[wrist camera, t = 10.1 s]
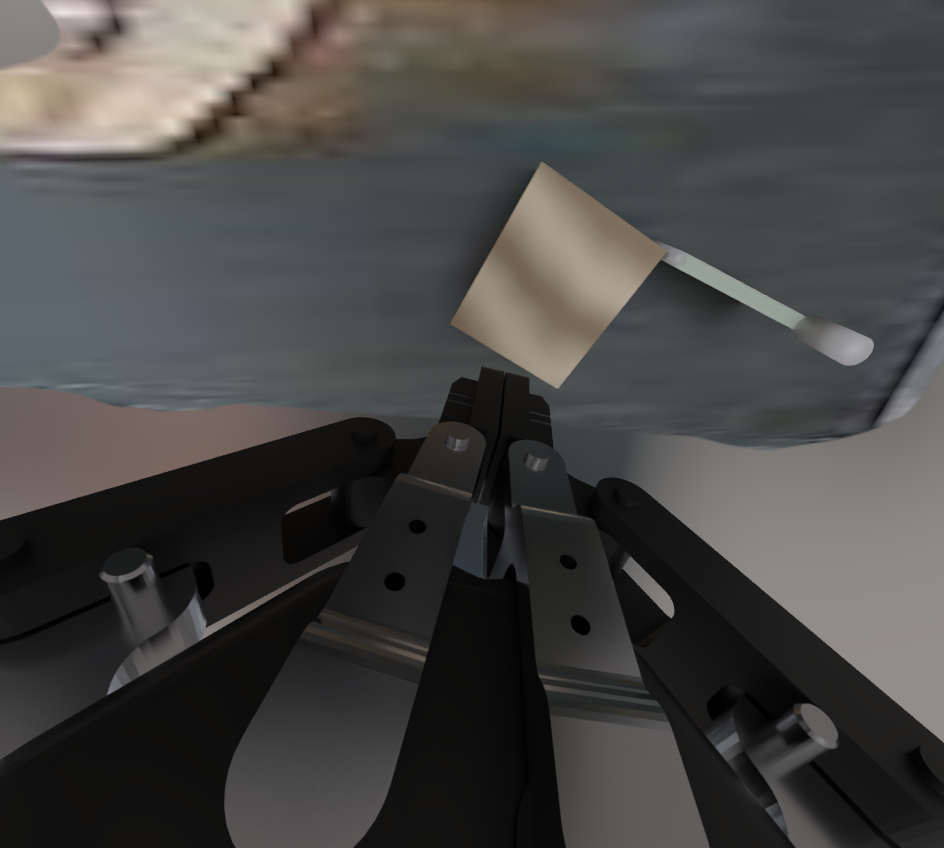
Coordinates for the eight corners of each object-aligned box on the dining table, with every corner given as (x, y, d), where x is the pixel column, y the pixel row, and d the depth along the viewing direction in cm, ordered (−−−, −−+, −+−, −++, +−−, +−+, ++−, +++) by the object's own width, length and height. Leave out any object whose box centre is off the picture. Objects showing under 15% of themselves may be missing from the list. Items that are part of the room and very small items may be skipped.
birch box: (536, 168, 34) (541, 161, 25) (629, 234, 36) (667, 251, 26) (467, 291, 40) (450, 324, 31) (550, 343, 42) (557, 388, 32)
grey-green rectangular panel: (626, 247, 36) (687, 283, 23) (638, 227, 35) (709, 252, 22) (740, 306, 38) (860, 373, 24) (754, 289, 37) (888, 348, 23)
